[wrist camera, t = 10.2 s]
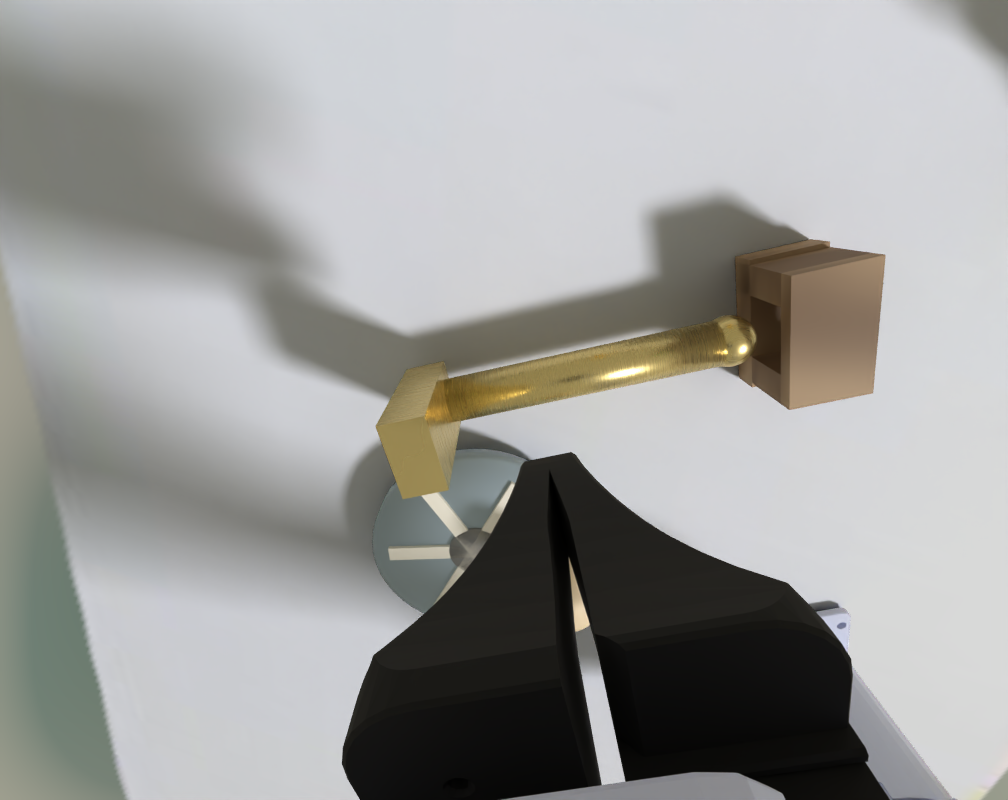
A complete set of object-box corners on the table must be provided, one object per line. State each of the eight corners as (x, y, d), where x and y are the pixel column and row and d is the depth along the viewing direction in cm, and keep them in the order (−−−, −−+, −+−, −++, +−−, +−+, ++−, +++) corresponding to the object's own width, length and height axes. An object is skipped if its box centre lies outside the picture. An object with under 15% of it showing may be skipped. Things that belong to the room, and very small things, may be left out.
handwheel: (390, 612, 26) (366, 703, 21) (363, 452, 22) (326, 520, 17) (574, 606, 25) (590, 696, 21) (579, 445, 22) (601, 511, 17)
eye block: (807, 363, 21) (872, 398, 17) (738, 377, 21) (789, 414, 17) (810, 239, 19) (885, 248, 15) (735, 256, 19) (791, 269, 15)
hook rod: (742, 360, 20) (825, 415, 15) (426, 427, 21) (402, 499, 16) (740, 295, 18) (829, 329, 14) (406, 369, 20) (375, 426, 15)
